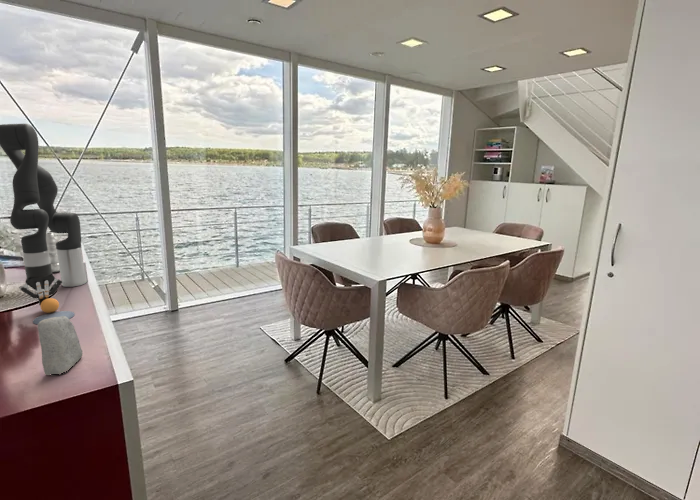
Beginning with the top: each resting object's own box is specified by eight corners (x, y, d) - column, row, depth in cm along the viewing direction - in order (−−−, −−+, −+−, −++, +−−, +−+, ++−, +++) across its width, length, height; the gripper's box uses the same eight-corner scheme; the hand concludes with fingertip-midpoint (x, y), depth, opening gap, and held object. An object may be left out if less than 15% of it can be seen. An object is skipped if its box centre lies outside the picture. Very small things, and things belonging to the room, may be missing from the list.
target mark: (54, 310, 142) (54, 309, 142) (82, 312, 141) (82, 312, 141) (23, 323, 131) (23, 322, 131) (54, 325, 129) (54, 325, 129)
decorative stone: (67, 356, 110) (59, 308, 107) (88, 355, 110) (81, 308, 107) (40, 376, 99) (31, 324, 96) (64, 376, 100) (55, 324, 96)
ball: (50, 297, 143) (53, 293, 140) (60, 308, 144) (64, 304, 141) (35, 306, 139) (38, 302, 136) (46, 317, 140) (49, 313, 137)
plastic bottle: (66, 270, 193) (61, 232, 188) (52, 274, 186) (46, 235, 182) (58, 269, 195) (52, 231, 190) (44, 272, 188) (37, 234, 184)
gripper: (16, 268, 131) (25, 314, 135) (62, 261, 141) (68, 304, 145) (11, 264, 135) (19, 308, 139) (56, 257, 145) (62, 299, 149)
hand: (44, 306), depth 142 cm, fingers closed
